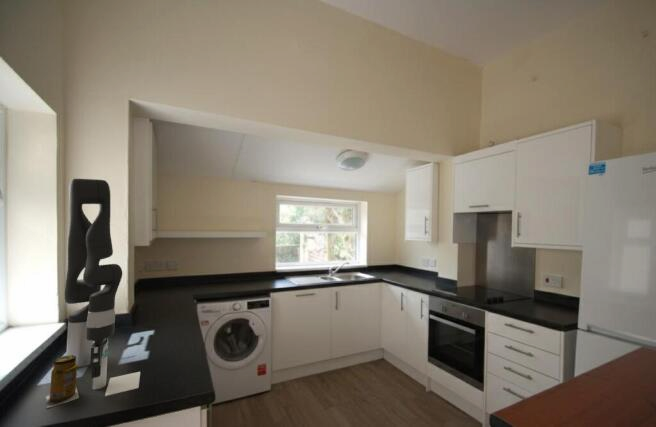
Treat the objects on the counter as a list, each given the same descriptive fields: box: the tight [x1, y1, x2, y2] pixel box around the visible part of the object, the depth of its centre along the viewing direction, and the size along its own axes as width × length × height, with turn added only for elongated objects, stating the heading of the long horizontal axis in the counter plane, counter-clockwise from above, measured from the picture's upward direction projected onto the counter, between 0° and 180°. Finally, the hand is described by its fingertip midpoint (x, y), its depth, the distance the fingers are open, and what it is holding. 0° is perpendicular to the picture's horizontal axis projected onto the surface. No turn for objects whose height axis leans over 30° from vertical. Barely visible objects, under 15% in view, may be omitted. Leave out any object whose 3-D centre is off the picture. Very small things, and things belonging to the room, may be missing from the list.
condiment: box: [45, 355, 80, 409], centre depth 88 cm, size 7×8×12 cm
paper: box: [104, 371, 141, 397], centre depth 96 cm, size 12×9×1 cm
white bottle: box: [92, 349, 109, 390], centre depth 95 cm, size 4×4×12 cm
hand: (98, 371), depth 94 cm, fingers open, 8 cm apart
